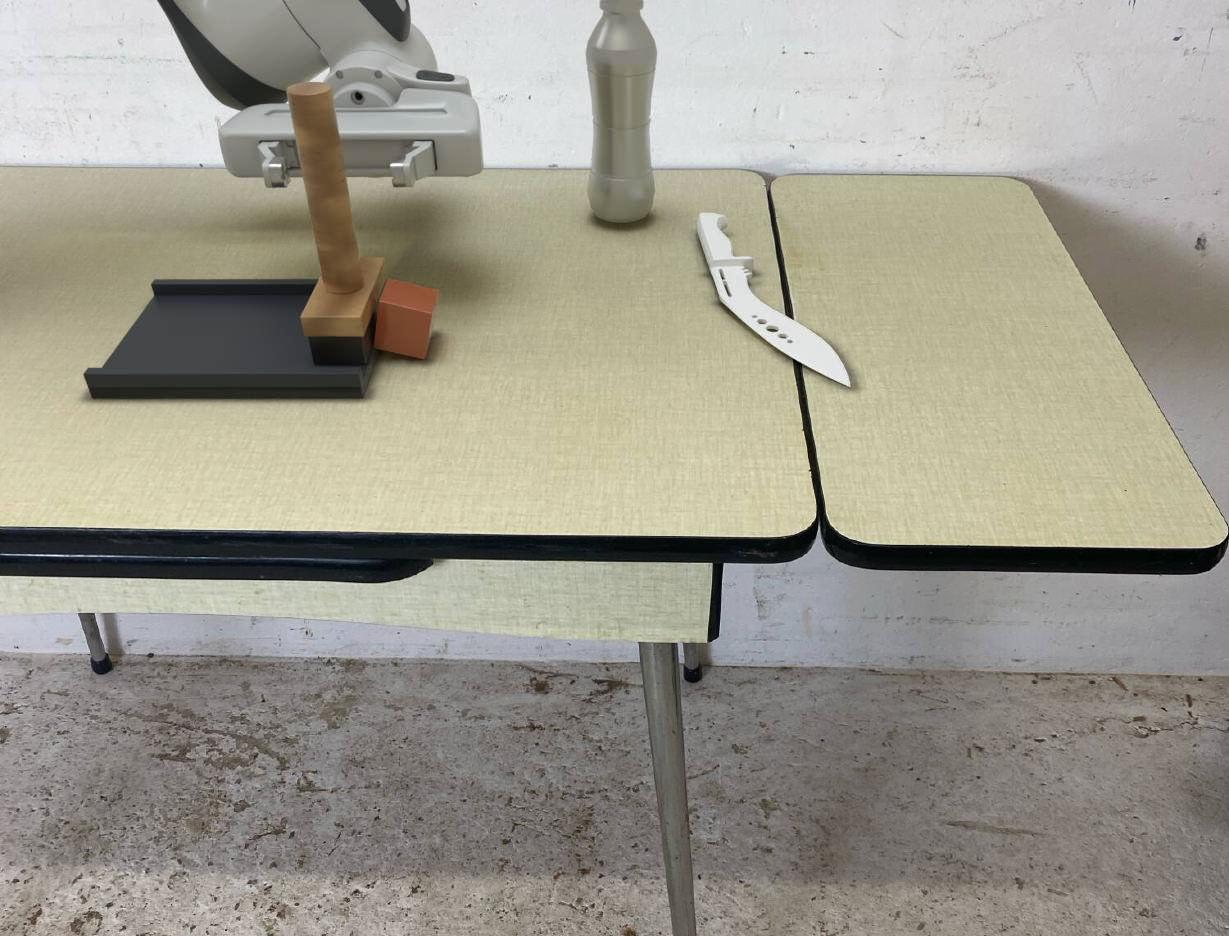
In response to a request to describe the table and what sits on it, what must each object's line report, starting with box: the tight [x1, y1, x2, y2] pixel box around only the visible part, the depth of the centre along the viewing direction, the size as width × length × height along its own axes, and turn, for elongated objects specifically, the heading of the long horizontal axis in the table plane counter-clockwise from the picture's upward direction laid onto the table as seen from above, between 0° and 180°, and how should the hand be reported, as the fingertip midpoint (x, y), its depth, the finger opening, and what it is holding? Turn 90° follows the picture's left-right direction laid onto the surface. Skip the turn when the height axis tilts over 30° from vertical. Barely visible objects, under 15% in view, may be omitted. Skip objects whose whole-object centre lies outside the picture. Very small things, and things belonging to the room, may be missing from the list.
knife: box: [695, 212, 851, 388], centre depth 90 cm, size 30×2×8 cm
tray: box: [82, 278, 395, 399], centre depth 84 cm, size 20×16×2 cm
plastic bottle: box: [585, 0, 658, 224], centre depth 98 cm, size 6×7×20 cm
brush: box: [286, 81, 388, 365], centre depth 78 cm, size 4×10×18 cm, turn 0°
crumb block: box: [373, 277, 440, 360], centre depth 83 cm, size 4×4×4 cm
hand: (337, 177), depth 79 cm, fingers open, 8 cm apart
